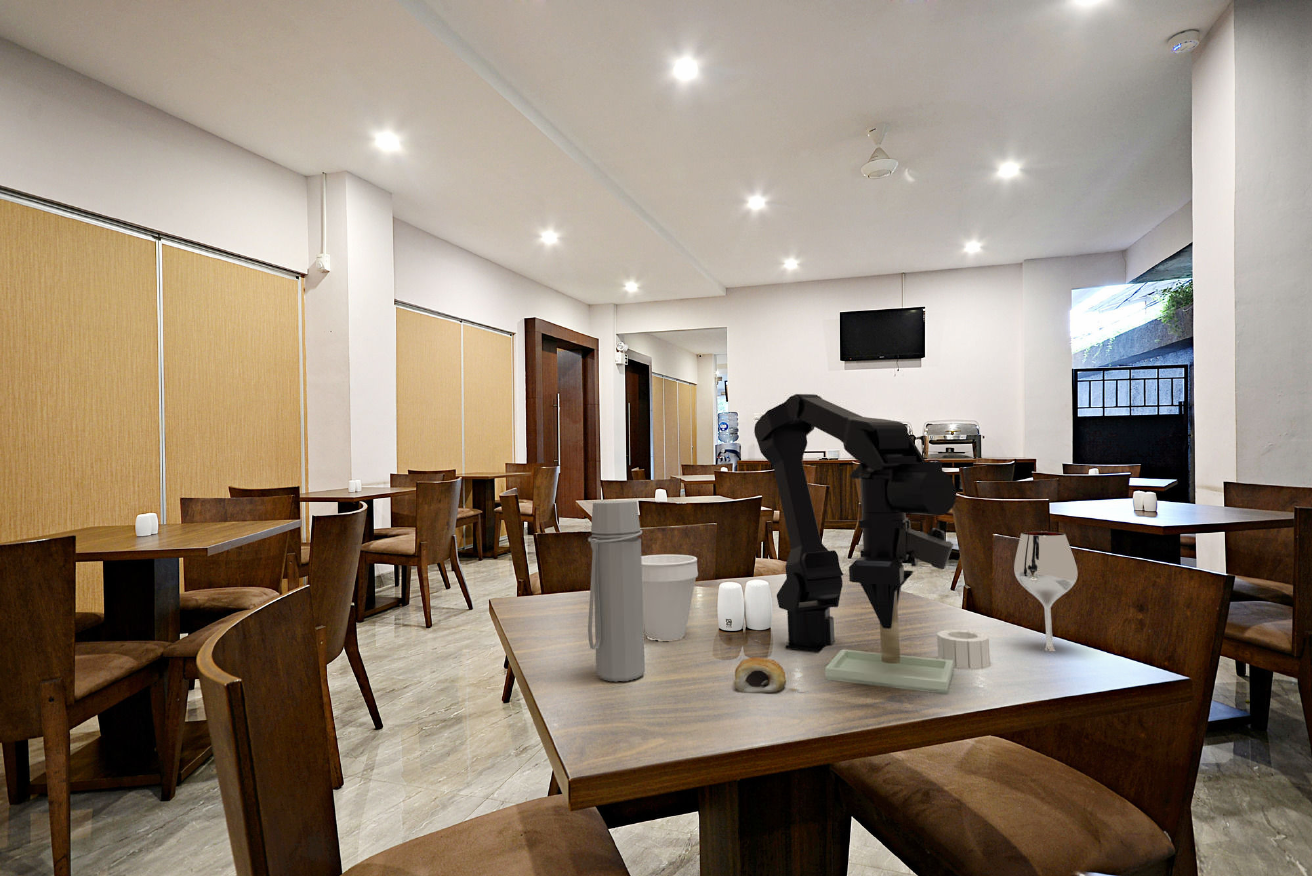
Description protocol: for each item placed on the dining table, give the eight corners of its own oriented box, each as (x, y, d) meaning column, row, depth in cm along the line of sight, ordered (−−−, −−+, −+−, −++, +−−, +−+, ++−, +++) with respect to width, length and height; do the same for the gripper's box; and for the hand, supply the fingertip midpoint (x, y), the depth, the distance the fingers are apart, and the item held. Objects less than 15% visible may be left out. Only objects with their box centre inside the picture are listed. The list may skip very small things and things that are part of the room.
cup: (637, 628, 123) (634, 554, 124) (702, 628, 122) (700, 553, 122) (624, 645, 111) (622, 564, 112) (697, 646, 109) (694, 563, 110)
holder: (937, 671, 92) (935, 638, 92) (941, 658, 98) (939, 627, 98) (989, 676, 89) (987, 643, 89) (991, 663, 95) (989, 631, 95)
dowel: (880, 662, 89) (876, 580, 90) (883, 657, 91) (879, 577, 92) (898, 664, 88) (894, 581, 89) (901, 659, 90) (897, 578, 91)
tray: (825, 684, 88) (824, 668, 88) (842, 664, 97) (841, 649, 97) (947, 700, 81) (946, 682, 81) (954, 676, 90) (953, 660, 90)
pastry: (740, 672, 95) (739, 645, 96) (787, 674, 94) (786, 647, 94) (733, 694, 86) (732, 664, 86) (785, 696, 85) (784, 666, 85)
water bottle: (621, 664, 100) (617, 500, 101) (658, 674, 95) (652, 500, 96) (573, 679, 94) (568, 503, 95) (609, 691, 88) (604, 504, 89)
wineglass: (1093, 663, 93) (1084, 536, 94) (1030, 662, 95) (1022, 536, 96) (1069, 648, 101) (1061, 530, 102) (1011, 647, 103) (1004, 531, 104)
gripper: (940, 517, 79) (946, 649, 78) (952, 507, 95) (958, 616, 94) (845, 517, 84) (851, 640, 83) (872, 507, 100) (877, 610, 100)
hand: (888, 626), depth 90 cm, fingers closed on dowel, 2 cm apart
